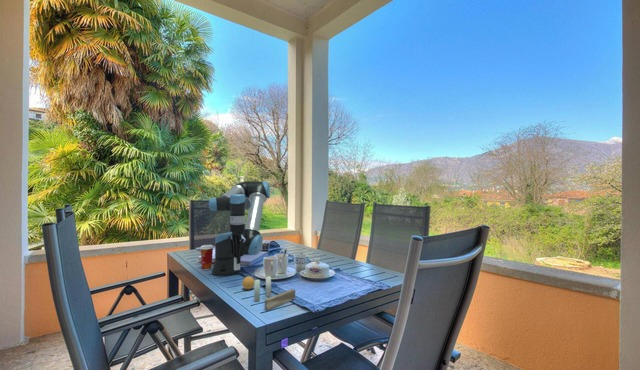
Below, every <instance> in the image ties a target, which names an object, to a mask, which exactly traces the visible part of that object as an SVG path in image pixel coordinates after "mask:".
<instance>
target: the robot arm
mask: <svg viewBox="0 0 640 370" xmlns="http://www.w3.org/2000/svg"><path fill="white" fill-rule="evenodd" d="M270 197H271V189H270V184H269V182H268V181H266V180H265V181H263V180H262V181H260V180H259V181H256V180H254V181H250V180H249V181H248V180H246V181H243V182H242V181H241V182H238V183H236V184H234V185H233V186H232V187H230V189H229V190H228V191H226V192H225V193H223V194H221V195H220V196H219V197H218V196H217V197H216V196H215V197H211V198H209V200H208V209H209V210H210V211H212V212H229V223H230V225H229V231H228V232H223V233H219V234H217V235H216V236H215V238H214V239H215V241H214V247H215V248H214V250H215V251H214V252H215V253H214V262H213V264H212V268H211V275H213V276H216V277H227V276H232V275H236V274H238V273H239V272H238V271H240V270H241V260H242V258H241V257H244V256H255V255H258V254H260V252H261V250H262V247H263V242H264V241H263V235H262V234H261V232H260V226H261V220H262V214H263V209H264V204H265V203H266V202H267V200H268V199H269V198H270ZM246 211H248V212H247V217H246Z"/></svg>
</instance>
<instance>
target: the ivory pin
mask: <svg viewBox="0 0 640 370" xmlns="http://www.w3.org/2000/svg"><path fill="white" fill-rule="evenodd" d="M270 297H272V276H271V275H268V276H265V298H266V299H268V298H270Z"/></svg>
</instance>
